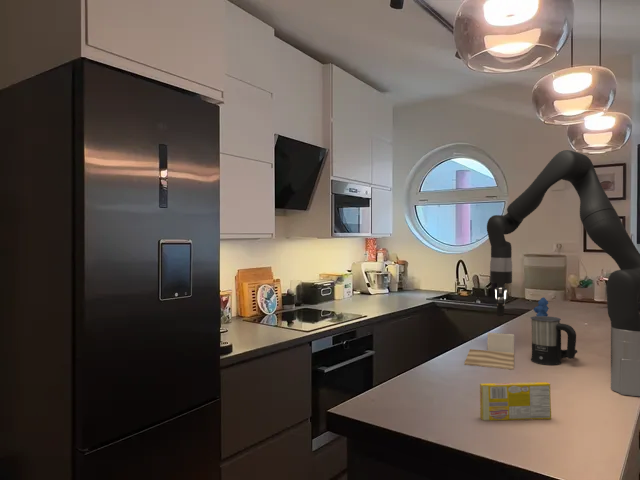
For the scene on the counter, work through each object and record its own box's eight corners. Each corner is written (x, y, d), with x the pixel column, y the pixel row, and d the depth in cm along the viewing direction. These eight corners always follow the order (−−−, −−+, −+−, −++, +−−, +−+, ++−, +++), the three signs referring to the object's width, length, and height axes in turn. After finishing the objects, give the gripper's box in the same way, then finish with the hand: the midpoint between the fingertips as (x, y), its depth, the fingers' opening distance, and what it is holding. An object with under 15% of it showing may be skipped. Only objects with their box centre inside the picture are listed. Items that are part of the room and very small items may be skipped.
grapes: (536, 319, 235) (537, 295, 235) (551, 321, 230) (551, 296, 230) (529, 322, 226) (529, 298, 226) (544, 324, 222) (544, 299, 221)
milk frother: (529, 363, 156) (529, 318, 156) (532, 352, 170) (532, 311, 170) (578, 369, 149) (578, 322, 149) (577, 357, 163) (577, 315, 163)
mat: (513, 369, 148) (513, 367, 148) (464, 364, 154) (464, 362, 154) (513, 354, 167) (514, 352, 167) (469, 350, 173) (469, 349, 173)
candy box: (547, 416, 111) (547, 381, 111) (551, 420, 109) (551, 384, 109) (479, 417, 110) (479, 382, 110) (482, 421, 108) (482, 385, 108)
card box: (514, 353, 169) (514, 335, 168) (487, 351, 172) (487, 333, 172) (514, 352, 171) (514, 334, 171) (487, 349, 174) (487, 332, 174)
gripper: (511, 271, 163) (511, 318, 163) (512, 268, 176) (512, 311, 176) (489, 271, 166) (488, 316, 166) (491, 268, 179) (490, 310, 179)
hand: (500, 314), depth 171 cm, fingers open, 8 cm apart
